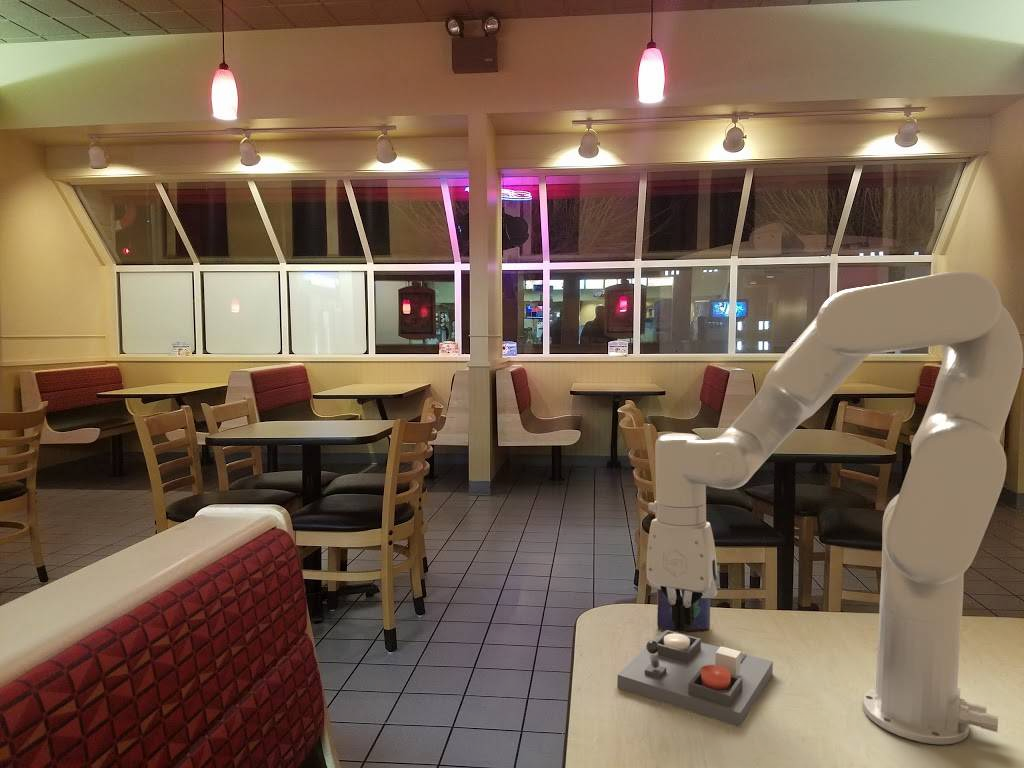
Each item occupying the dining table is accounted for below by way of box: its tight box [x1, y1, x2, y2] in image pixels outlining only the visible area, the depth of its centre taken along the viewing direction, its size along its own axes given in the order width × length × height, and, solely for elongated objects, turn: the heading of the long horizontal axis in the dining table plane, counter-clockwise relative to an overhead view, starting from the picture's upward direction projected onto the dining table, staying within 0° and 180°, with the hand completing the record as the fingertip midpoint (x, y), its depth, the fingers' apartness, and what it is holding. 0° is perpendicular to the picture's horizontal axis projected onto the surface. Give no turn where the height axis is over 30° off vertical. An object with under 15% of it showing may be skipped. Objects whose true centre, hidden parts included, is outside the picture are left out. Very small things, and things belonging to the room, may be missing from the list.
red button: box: [701, 665, 731, 690], centre depth 98 cm, size 4×4×2 cm
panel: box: [616, 630, 774, 728], centre depth 104 cm, size 18×17×4 cm
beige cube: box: [715, 646, 742, 676], centre depth 102 cm, size 3×2×3 cm
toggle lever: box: [645, 640, 659, 668], centre depth 102 cm, size 2×2×5 cm
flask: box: [656, 589, 711, 633], centre depth 122 cm, size 9×3×11 cm, turn 88°
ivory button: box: [664, 633, 690, 651], centre depth 110 cm, size 4×4×2 cm
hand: (683, 627), depth 109 cm, fingers closed
